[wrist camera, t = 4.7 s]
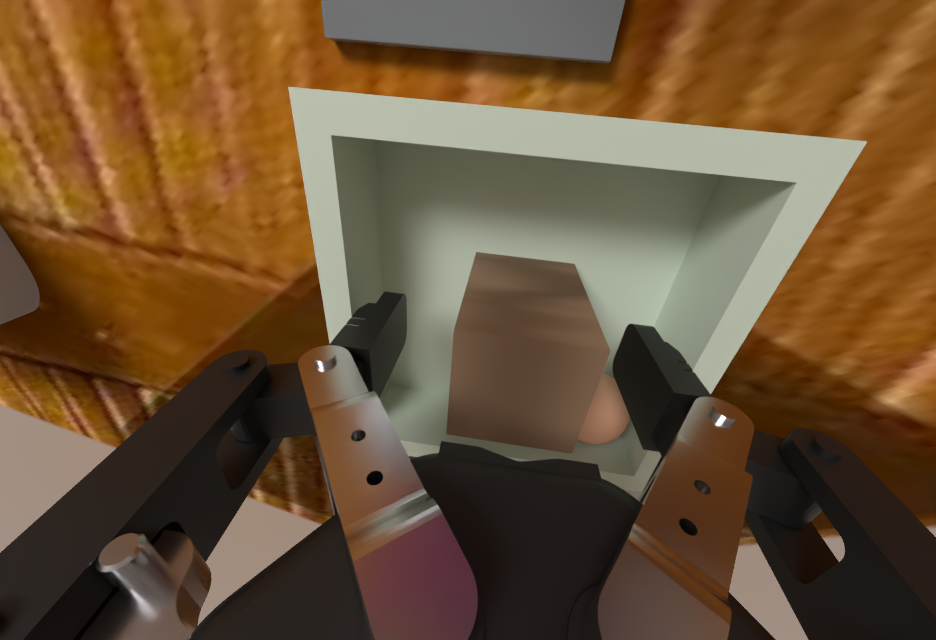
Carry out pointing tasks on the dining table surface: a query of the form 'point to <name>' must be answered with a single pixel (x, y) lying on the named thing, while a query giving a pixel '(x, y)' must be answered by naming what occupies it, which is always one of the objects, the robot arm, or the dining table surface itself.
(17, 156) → the dining table surface
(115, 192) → the dining table surface
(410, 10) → the pad
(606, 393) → the ball
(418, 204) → the bin
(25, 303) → the lumpy-topped squat cylinder
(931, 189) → the dining table surface
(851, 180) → the dining table surface
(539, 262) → the block
